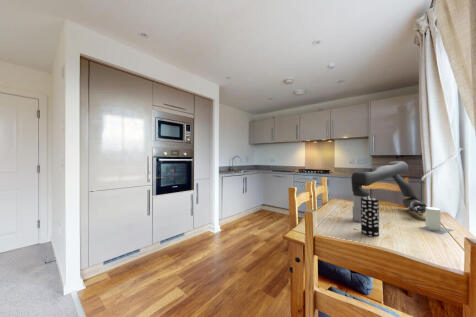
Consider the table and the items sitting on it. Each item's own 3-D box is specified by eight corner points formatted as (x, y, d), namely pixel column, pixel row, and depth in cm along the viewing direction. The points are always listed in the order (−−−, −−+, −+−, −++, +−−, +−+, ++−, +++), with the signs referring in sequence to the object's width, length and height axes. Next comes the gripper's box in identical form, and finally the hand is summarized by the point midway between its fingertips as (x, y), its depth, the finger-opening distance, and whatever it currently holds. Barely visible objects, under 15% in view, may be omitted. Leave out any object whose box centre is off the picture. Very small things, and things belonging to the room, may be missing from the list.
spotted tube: (379, 237, 103) (379, 200, 103) (361, 234, 108) (360, 199, 108) (378, 232, 111) (377, 198, 110) (361, 230, 115) (360, 196, 115)
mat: (441, 235, 106) (441, 234, 106) (418, 228, 115) (418, 228, 115) (454, 230, 111) (454, 230, 111) (431, 225, 120) (431, 224, 120)
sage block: (440, 230, 110) (440, 210, 110) (428, 229, 113) (428, 209, 113) (437, 228, 115) (436, 208, 114) (425, 226, 117) (425, 207, 117)
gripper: (405, 200, 141) (411, 205, 127) (432, 202, 134) (441, 208, 120) (405, 210, 141) (411, 217, 127) (432, 213, 134) (441, 220, 120)
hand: (426, 212), depth 123 cm, fingers open, 8 cm apart
